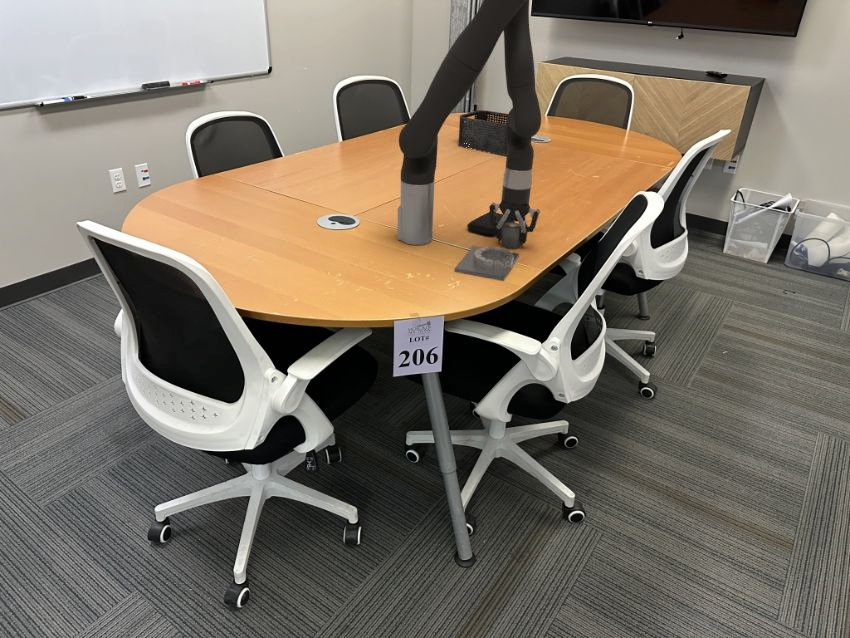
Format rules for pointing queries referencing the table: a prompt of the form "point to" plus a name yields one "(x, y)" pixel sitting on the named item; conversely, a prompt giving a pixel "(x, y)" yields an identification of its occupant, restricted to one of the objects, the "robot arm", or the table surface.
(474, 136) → the storage bin
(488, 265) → the lens mount
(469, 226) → the carrying case or bag
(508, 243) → the dark gray cylinder
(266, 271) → the table surface
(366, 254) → the table surface
